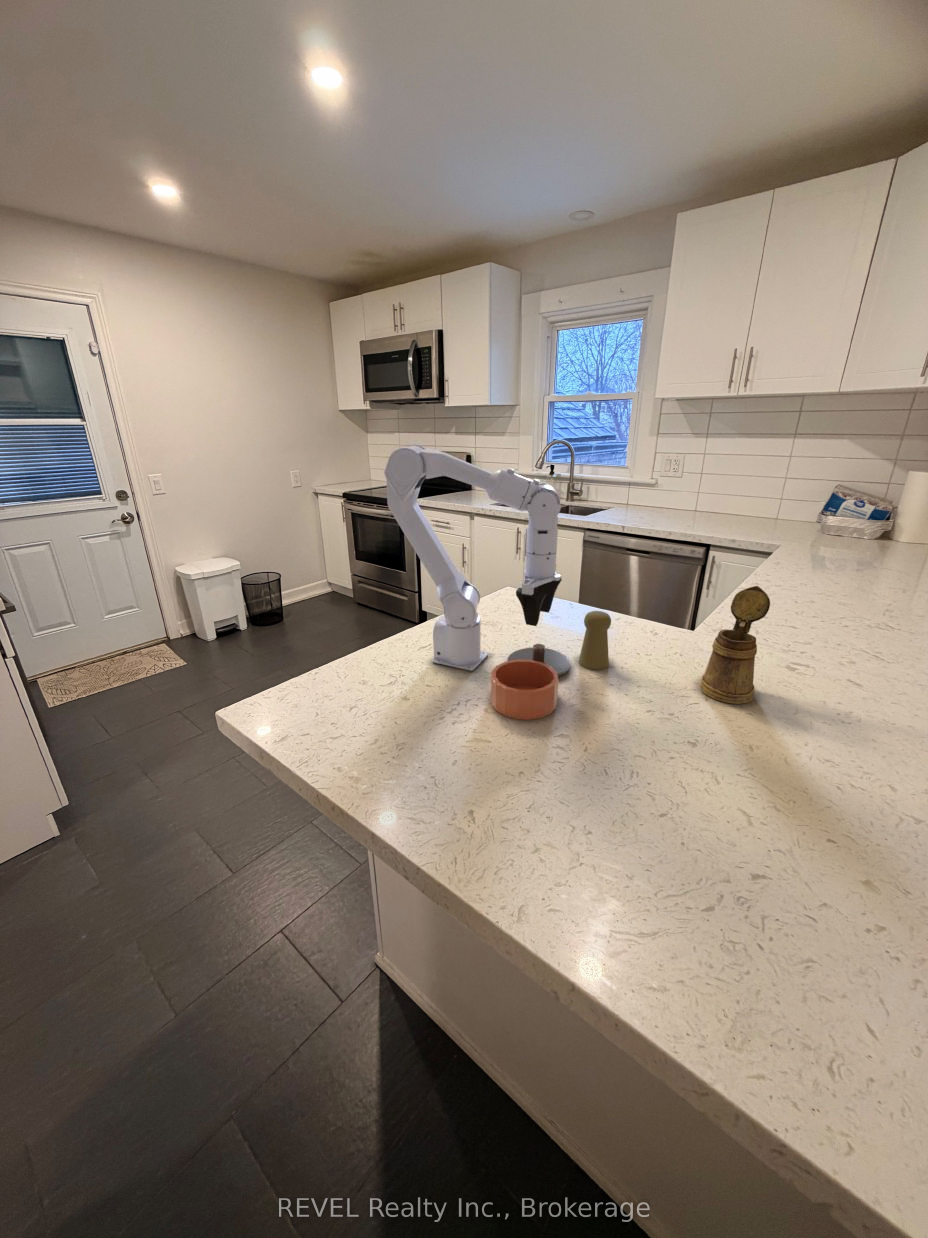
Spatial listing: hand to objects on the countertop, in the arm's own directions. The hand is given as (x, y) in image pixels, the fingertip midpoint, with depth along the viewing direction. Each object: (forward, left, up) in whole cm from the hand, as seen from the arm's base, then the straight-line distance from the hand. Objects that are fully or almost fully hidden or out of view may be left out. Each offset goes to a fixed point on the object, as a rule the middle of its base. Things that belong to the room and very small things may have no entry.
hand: (538, 617), depth 98 cm
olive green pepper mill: (+11, +5, -10) cm, 16 cm away
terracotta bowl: (+3, -15, -10) cm, 18 cm away
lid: (+1, -1, -10) cm, 10 cm away
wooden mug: (+36, +6, -10) cm, 38 cm away
